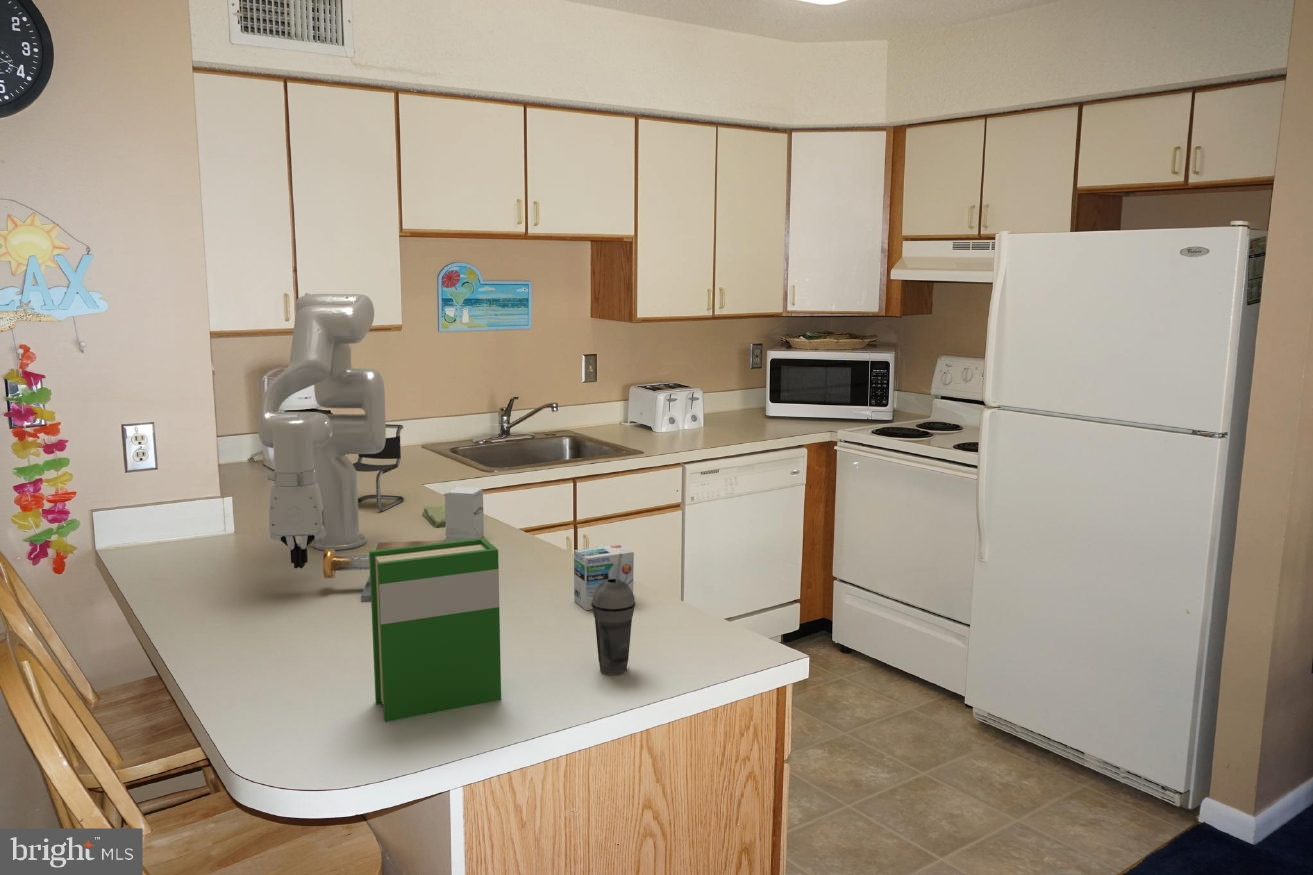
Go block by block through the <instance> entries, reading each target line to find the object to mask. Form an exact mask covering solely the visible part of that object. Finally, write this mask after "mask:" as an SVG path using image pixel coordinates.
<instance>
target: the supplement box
mask: <svg viewBox="0 0 1313 875" xmlns="http://www.w3.org/2000/svg"><path fill="white" fill-rule="evenodd" d="M444 505H445V518H446V526H445V540H446V542H452V541H461V540H469V539H478V538H484V536H485V535H484V534H485V531H484V529H485V527H484V526H485V524H484V488H483V487H473V486H472V487H471V486H455V487H454V488H451V489H450V490H448V491H446V492H445V493H444Z"/></svg>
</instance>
